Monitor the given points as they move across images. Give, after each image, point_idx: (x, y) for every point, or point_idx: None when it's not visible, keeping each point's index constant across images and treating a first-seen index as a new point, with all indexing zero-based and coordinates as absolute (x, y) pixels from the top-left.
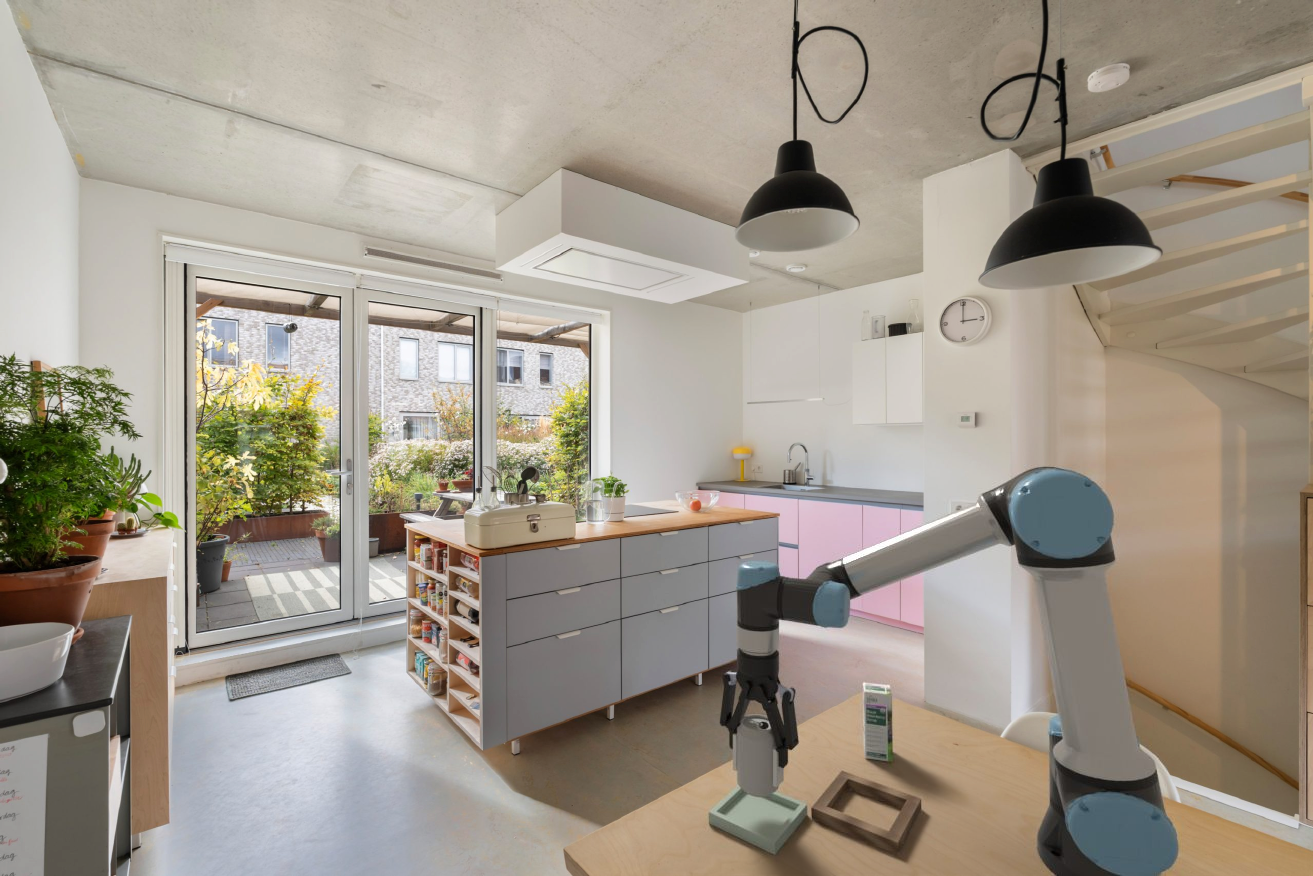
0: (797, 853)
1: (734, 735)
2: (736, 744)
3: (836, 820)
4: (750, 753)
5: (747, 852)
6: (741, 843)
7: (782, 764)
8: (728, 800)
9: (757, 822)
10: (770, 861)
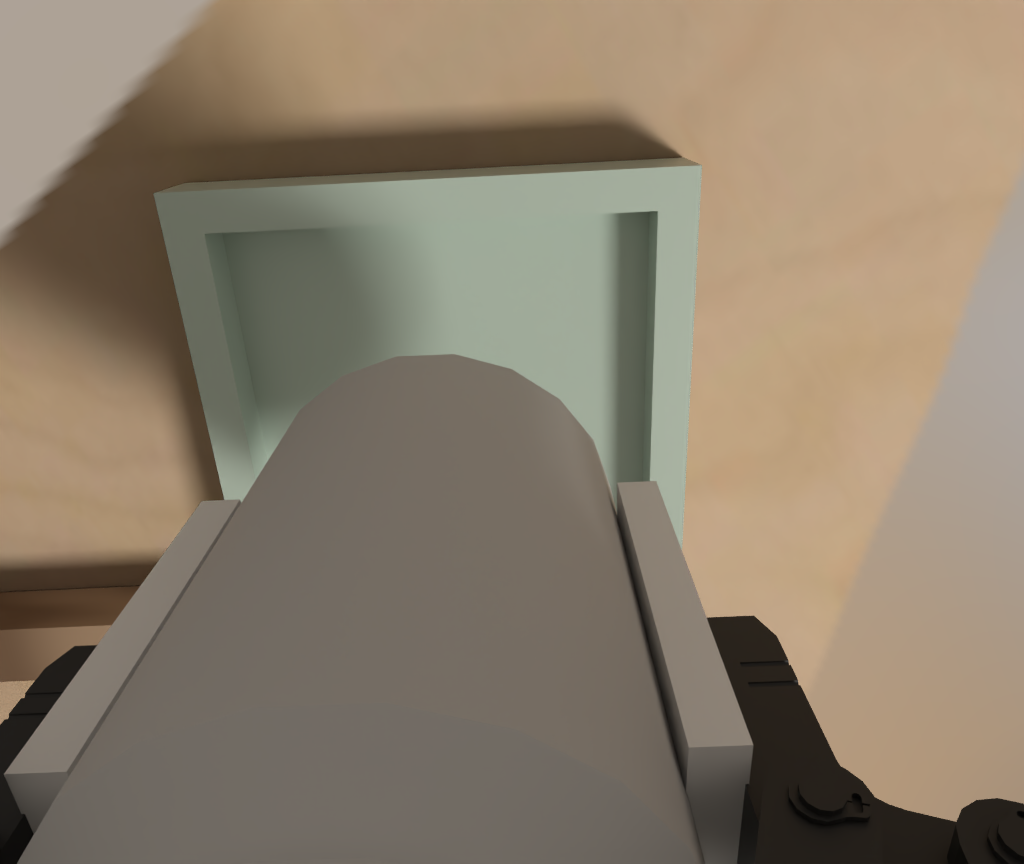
0: (108, 290)
1: (723, 740)
2: (662, 654)
3: (74, 617)
4: (317, 553)
5: (321, 83)
6: (402, 134)
7: (67, 673)
8: (652, 373)
9: (413, 346)
10: (167, 112)
